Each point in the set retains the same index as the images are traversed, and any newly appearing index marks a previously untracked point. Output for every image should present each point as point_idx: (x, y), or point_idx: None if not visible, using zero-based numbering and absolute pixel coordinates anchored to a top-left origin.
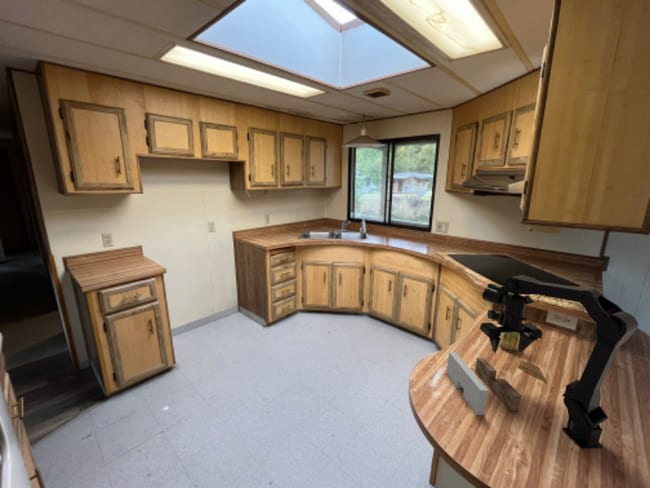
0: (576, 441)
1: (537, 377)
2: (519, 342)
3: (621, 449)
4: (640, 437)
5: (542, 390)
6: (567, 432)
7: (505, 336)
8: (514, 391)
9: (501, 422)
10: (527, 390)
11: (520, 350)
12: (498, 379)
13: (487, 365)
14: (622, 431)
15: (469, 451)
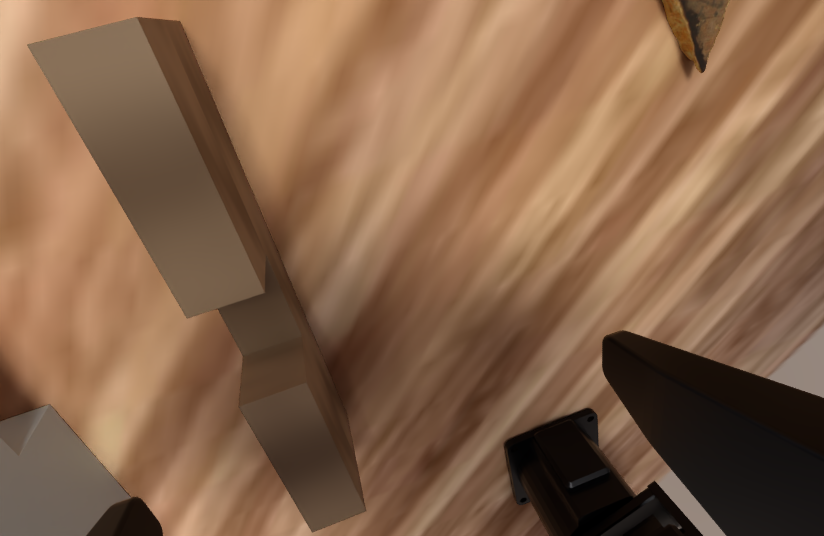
0: (516, 492)
1: (672, 16)
2: (770, 445)
3: None
4: (774, 364)
5: (602, 173)
6: (512, 464)
7: None
8: (334, 494)
9: (230, 512)
10: (500, 205)
11: (634, 406)
12: (246, 414)
13: (173, 217)
14: (740, 357)
15: None
